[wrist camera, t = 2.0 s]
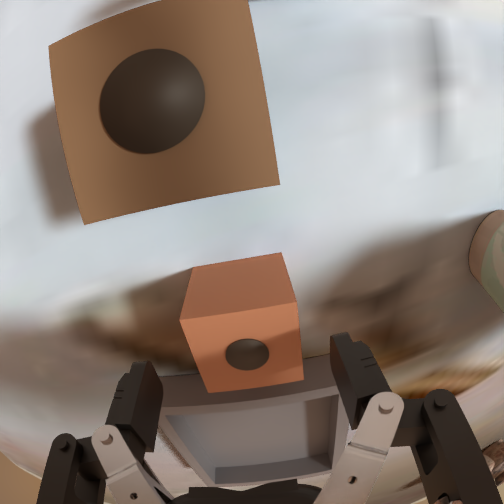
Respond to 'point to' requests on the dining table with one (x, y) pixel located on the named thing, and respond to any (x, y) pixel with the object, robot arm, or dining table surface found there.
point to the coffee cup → (489, 256)
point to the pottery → (496, 461)
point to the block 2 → (243, 324)
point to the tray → (257, 427)
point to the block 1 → (163, 107)
